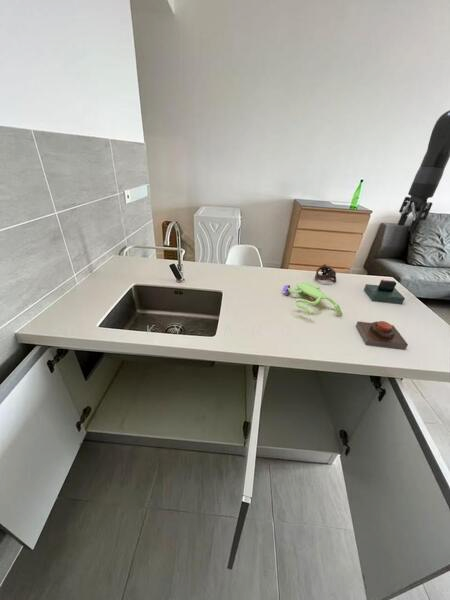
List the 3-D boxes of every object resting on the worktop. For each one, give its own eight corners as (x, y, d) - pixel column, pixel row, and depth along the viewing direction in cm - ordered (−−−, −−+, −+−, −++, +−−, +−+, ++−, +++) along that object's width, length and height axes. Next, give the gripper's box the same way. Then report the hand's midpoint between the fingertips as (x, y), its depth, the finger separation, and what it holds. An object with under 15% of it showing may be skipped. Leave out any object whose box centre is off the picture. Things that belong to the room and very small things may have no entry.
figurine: (298, 322, 87) (301, 309, 84) (276, 286, 109) (278, 275, 106) (346, 320, 89) (351, 308, 86) (315, 286, 111) (318, 275, 108)
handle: (390, 290, 105) (395, 280, 102) (392, 292, 103) (397, 282, 101) (377, 289, 105) (381, 279, 103) (378, 291, 104) (383, 281, 101)
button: (386, 326, 81) (388, 321, 80) (392, 333, 78) (394, 329, 77) (374, 324, 81) (376, 320, 81) (379, 332, 78) (381, 327, 77)
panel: (391, 292, 109) (394, 286, 108) (402, 304, 101) (405, 297, 99) (363, 289, 111) (366, 283, 109) (372, 301, 102) (374, 294, 100)
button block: (390, 330, 85) (395, 321, 83) (405, 349, 77) (410, 340, 75) (355, 326, 86) (359, 317, 84) (365, 345, 78) (370, 335, 76)
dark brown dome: (339, 286, 114) (337, 273, 108) (318, 291, 117) (315, 279, 112) (332, 269, 122) (330, 257, 117) (313, 275, 125) (310, 263, 120)
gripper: (450, 184, 79) (426, 234, 87) (425, 180, 91) (406, 224, 99) (426, 183, 80) (404, 232, 88) (404, 179, 92) (387, 223, 100)
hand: (405, 228), depth 94 cm, fingers open, 8 cm apart
